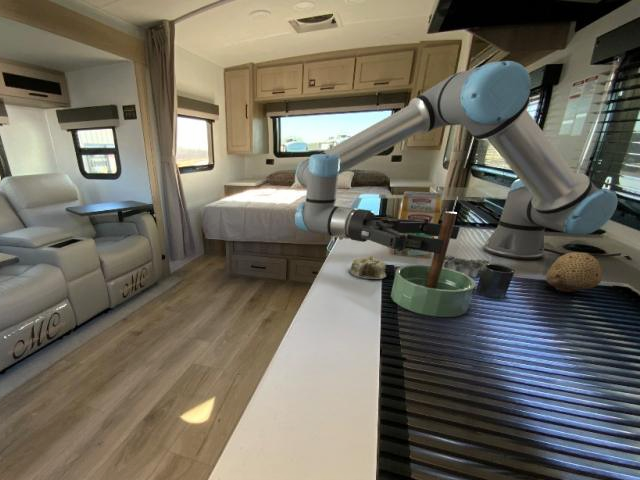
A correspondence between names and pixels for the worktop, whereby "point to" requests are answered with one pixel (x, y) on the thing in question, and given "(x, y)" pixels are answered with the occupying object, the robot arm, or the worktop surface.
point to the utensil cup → (494, 281)
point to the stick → (439, 258)
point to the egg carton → (464, 265)
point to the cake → (368, 268)
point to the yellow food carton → (419, 215)
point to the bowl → (432, 291)
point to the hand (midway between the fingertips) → (450, 239)
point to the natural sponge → (574, 272)
